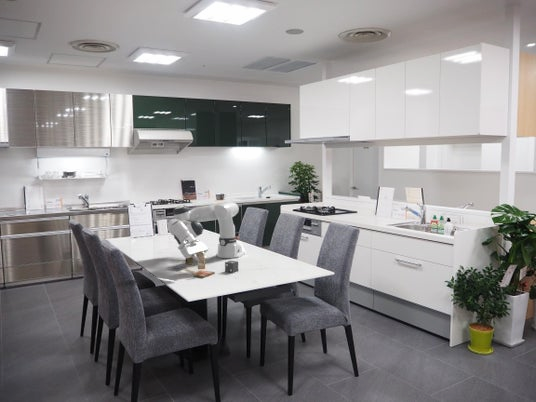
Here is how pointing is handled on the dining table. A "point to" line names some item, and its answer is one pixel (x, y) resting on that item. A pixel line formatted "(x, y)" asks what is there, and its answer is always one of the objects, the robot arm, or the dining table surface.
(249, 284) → the dining table surface
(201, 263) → the pawn
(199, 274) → the game board
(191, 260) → the coffee box
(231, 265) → the die
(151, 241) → the dining table surface
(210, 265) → the dining table surface
